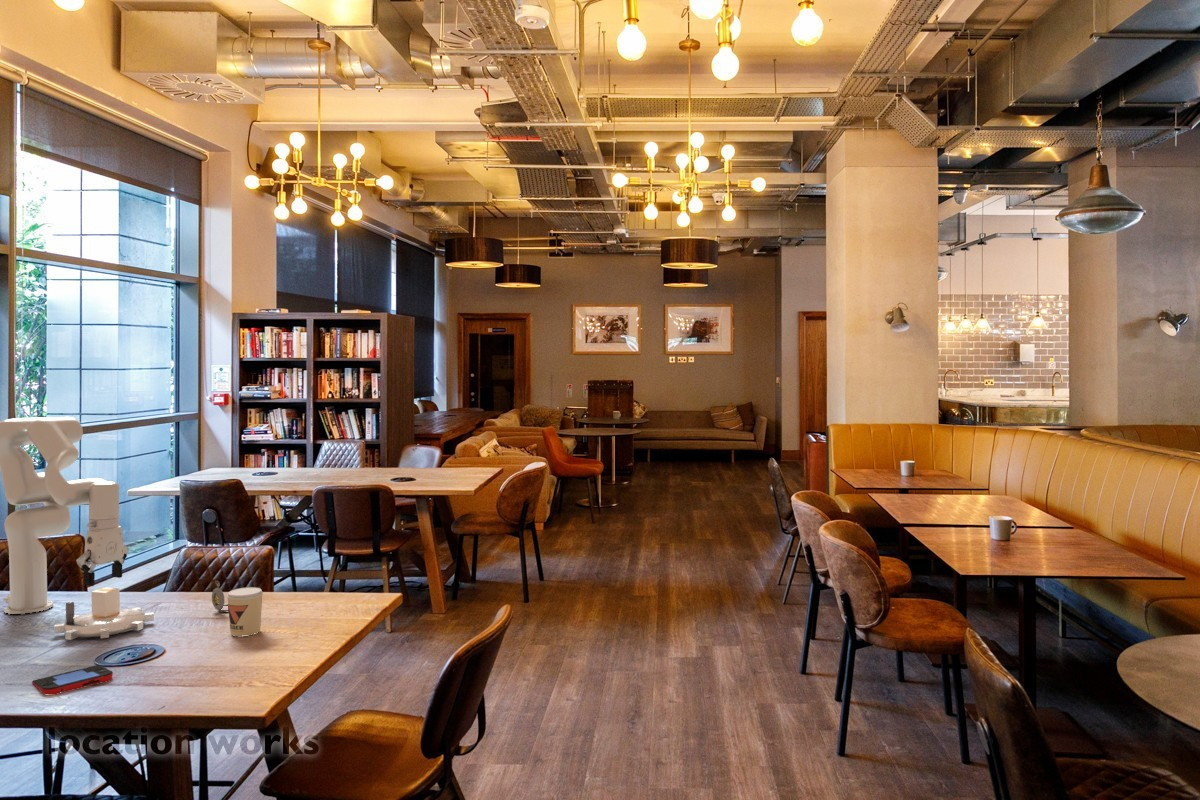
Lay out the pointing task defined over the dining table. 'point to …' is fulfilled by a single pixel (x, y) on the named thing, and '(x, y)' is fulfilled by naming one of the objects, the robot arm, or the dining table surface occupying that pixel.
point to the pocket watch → (218, 594)
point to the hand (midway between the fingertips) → (103, 581)
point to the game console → (73, 679)
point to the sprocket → (101, 623)
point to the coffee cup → (245, 610)
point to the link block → (105, 601)
